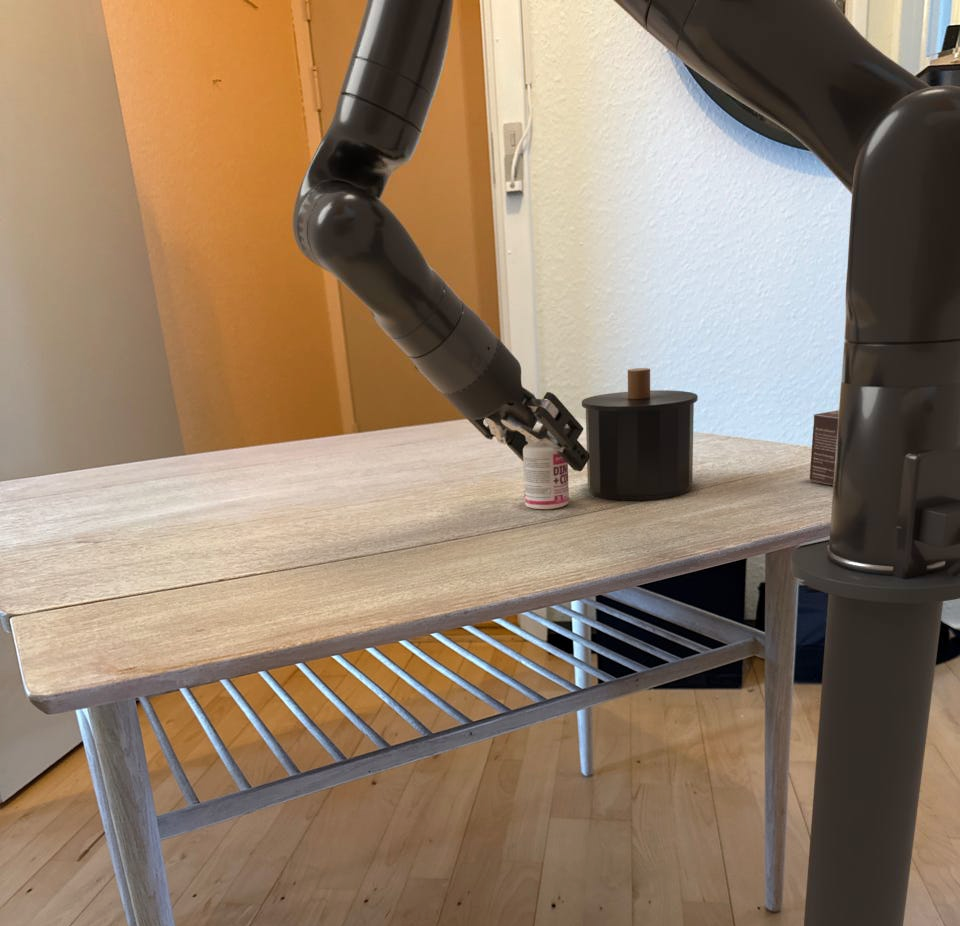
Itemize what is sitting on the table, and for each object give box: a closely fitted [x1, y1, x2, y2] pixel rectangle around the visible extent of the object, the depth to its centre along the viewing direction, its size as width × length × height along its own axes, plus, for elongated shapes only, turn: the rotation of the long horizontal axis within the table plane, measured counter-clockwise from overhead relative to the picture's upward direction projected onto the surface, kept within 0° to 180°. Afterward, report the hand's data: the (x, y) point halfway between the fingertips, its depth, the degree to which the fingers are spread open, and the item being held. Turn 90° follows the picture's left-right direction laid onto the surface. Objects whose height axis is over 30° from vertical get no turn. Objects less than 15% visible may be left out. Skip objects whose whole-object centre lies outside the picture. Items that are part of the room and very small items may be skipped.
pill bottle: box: [522, 423, 570, 510], centre depth 98 cm, size 5×5×8 cm
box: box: [809, 409, 839, 486], centre depth 98 cm, size 6×6×7 cm
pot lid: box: [581, 367, 699, 411], centre depth 99 cm, size 12×12×4 cm
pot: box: [585, 403, 695, 502], centre depth 101 cm, size 11×11×10 cm
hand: (557, 460), depth 98 cm, fingers open, 7 cm apart
